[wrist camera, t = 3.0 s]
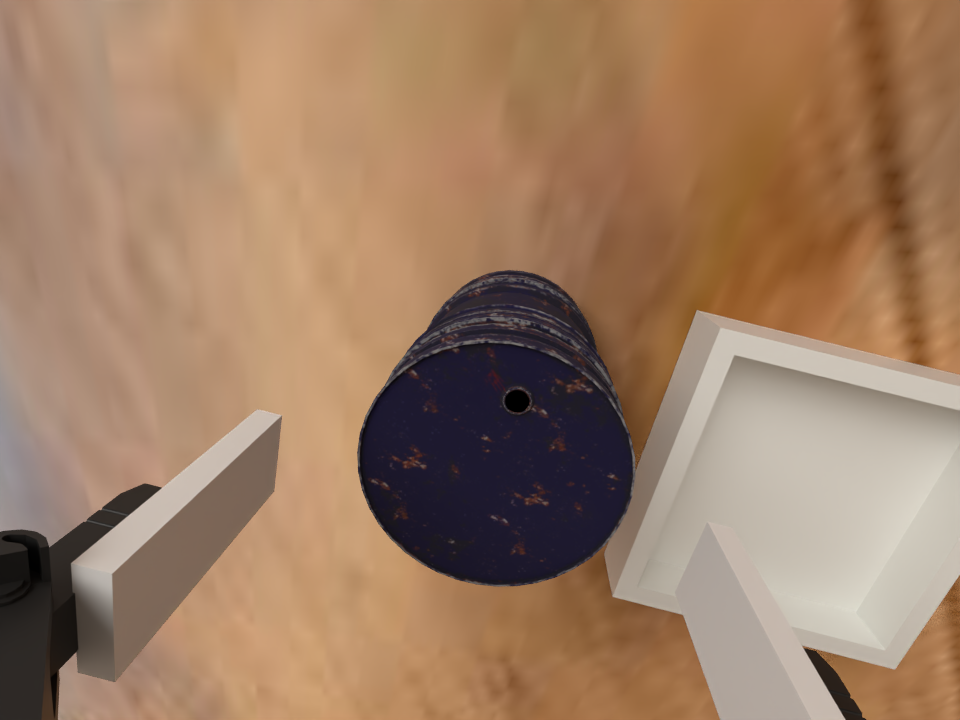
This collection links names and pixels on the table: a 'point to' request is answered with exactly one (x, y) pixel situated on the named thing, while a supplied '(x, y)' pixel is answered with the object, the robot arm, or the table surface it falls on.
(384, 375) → the table surface
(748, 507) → the tray
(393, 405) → the dark blue canister
